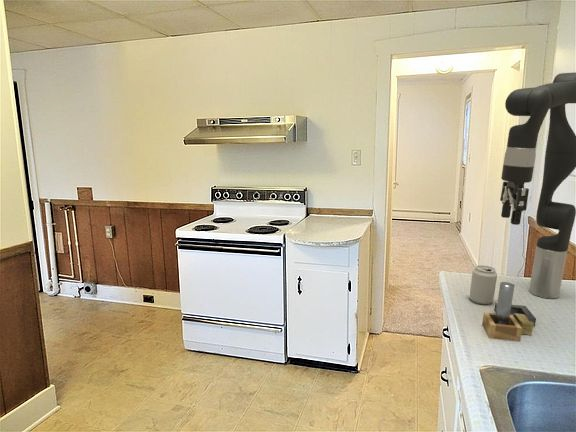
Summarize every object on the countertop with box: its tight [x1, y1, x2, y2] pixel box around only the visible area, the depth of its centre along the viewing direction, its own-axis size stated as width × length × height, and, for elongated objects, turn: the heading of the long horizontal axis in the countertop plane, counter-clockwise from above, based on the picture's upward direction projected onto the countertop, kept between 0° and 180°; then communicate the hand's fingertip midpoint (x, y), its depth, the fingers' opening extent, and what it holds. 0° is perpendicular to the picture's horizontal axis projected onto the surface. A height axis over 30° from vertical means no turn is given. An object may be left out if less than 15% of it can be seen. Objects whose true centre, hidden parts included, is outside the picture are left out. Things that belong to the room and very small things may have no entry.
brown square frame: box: [481, 311, 522, 342], centre depth 119 cm, size 8×8×4 cm
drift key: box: [514, 313, 534, 336], centre depth 121 cm, size 7×3×4 cm, turn 169°
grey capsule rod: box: [494, 281, 515, 325], centre depth 117 cm, size 4×4×15 cm
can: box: [468, 264, 498, 306], centre depth 139 cm, size 8×8×12 cm
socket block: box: [493, 302, 537, 327], centre depth 128 cm, size 9×9×2 cm
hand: (509, 220), depth 117 cm, fingers open, 8 cm apart
